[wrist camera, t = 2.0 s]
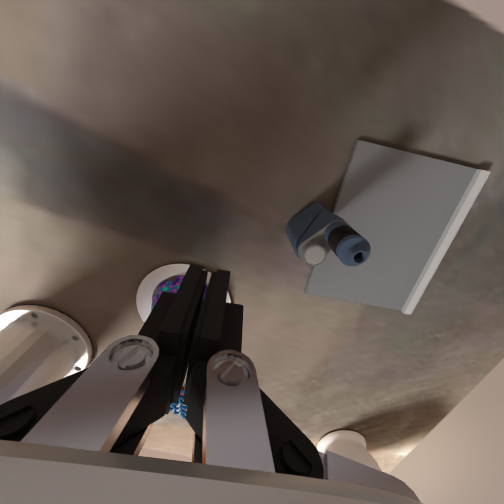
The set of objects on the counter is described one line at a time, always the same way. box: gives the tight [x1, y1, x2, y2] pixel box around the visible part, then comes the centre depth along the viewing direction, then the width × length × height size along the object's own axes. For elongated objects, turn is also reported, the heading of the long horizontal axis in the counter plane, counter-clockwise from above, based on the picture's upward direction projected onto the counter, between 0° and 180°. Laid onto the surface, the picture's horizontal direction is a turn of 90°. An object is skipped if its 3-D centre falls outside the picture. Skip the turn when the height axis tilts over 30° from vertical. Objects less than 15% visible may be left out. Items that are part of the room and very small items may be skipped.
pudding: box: [136, 264, 231, 322], centre depth 31 cm, size 12×12×5 cm
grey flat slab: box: [305, 140, 490, 315], centre depth 29 cm, size 18×14×1 cm
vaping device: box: [286, 202, 371, 267], centre depth 24 cm, size 3×5×12 cm, turn 128°
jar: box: [317, 430, 381, 471], centre depth 39 cm, size 11×10×15 cm
